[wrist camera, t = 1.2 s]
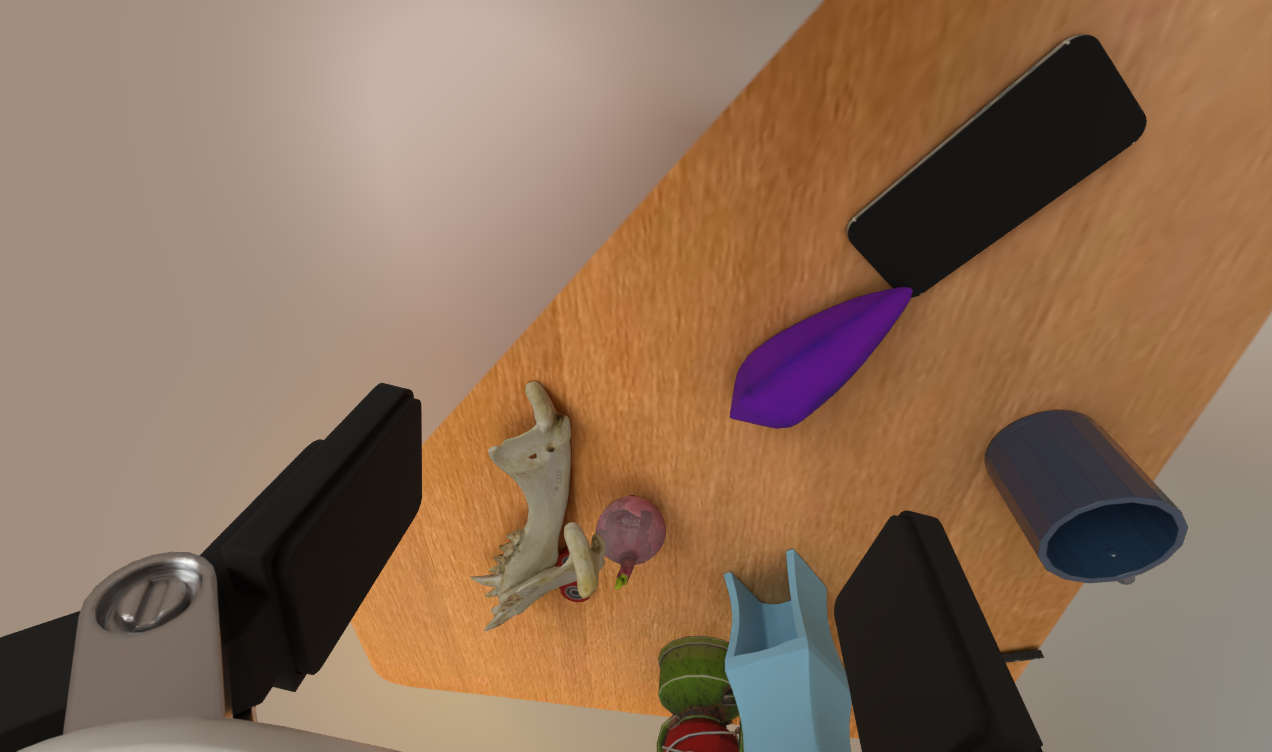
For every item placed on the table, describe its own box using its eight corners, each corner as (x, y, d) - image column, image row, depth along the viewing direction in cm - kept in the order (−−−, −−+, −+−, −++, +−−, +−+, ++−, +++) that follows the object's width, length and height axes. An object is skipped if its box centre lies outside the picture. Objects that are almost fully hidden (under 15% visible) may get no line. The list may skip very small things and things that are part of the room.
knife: (888, 666, 60) (890, 668, 62) (891, 673, 60) (892, 675, 61) (1042, 648, 55) (1039, 651, 57) (1045, 656, 55) (1043, 658, 57)
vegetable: (669, 476, 49) (660, 570, 41) (668, 523, 53) (660, 619, 44) (601, 471, 50) (579, 563, 42) (605, 519, 53) (585, 612, 45)
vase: (763, 615, 59) (783, 851, 42) (723, 574, 56) (727, 810, 39) (832, 593, 56) (883, 840, 39) (793, 548, 53) (830, 794, 36)
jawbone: (551, 691, 53) (447, 720, 48) (513, 524, 64) (424, 530, 58) (690, 574, 39) (564, 594, 33) (612, 382, 49) (506, 372, 44)
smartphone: (840, 231, 35) (1088, 23, 28) (838, 227, 36) (1081, 23, 29) (908, 305, 37) (1155, 129, 30) (905, 300, 38) (1147, 127, 31)
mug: (967, 440, 44) (1020, 528, 36) (1082, 392, 40) (1167, 478, 33) (1020, 524, 48) (1077, 619, 40) (1129, 487, 44) (1213, 583, 37)
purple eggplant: (946, 328, 34) (756, 458, 40) (916, 298, 38) (748, 419, 44) (902, 275, 33) (712, 418, 39) (876, 250, 37) (708, 382, 43)
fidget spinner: (513, 571, 58) (517, 561, 59) (552, 612, 61) (555, 601, 62) (576, 552, 55) (578, 542, 56) (614, 596, 58) (615, 586, 59)
